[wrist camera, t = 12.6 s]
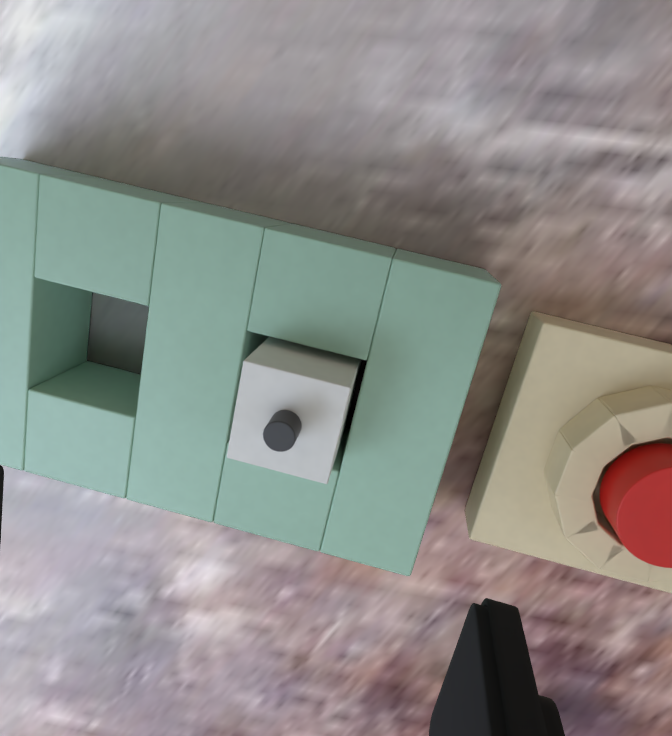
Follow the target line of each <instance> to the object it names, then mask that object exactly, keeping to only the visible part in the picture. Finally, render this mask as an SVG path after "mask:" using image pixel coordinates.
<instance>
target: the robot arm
mask: <svg viewBox="0 0 672 736" xmlns="http://www.w3.org/2000/svg"><path fill="white" fill-rule="evenodd" d="M3 481H4V469H3V467H2V466H1V465H0V542H1V521H2V501H3ZM429 736H565V734H564V730H563V727H562V723H561V719H560V715H559V712H558V709H557V707H556V704H555V703H554V701H553V700H552V699H550V698H547V697H543V696H540V695H538V691H537V687H536V682H535V678H534V674H533V670H532V665H531V661H530V657H529V652H528V648H527V644H526V639H525V635H524V631H523V627H522V622H521V618H520V614H519V611H518V608H517V607H515V606H512V605H508V604H505V603H501V602H498V601H494V600H491V599H488V598H486V599H484V601H483V602H482V604H481V605H479V604H475V603H473V604H472V605H471V607H470V609H469V612H468V615H467V618H466V620H465V623H464V626H463V629H462V632H461V634H460V637H459V640H458V643H457V646H456V648H455V651H454V654H453V657H452V660H451V662H450V665H449V668H448V671H447V674H446V676H445V679H444V682H443V685H442V688H441V691H440V693H439V696H438V699H437V702H436V705H435V707H434V710H433V713H432V717H431V722H430V729H429Z"/></svg>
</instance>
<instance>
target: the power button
mask: <svg viewBox="0 0 672 736" xmlns="http://www.w3.org/2000/svg"><path fill="white" fill-rule="evenodd" d="M599 498H600V504H601V507H602V510H603V512H604V514H605V516H606V517H607V519H608V521H609V522H610V524H611V526H612V527H613V529H614V530H615V532H616V534H617V535H618V537H619V539H620V540H621V542H622V543H623V545H624V546H625V547H626V549H627V550H628V551H629V552H630V553H631V554H633V555H634V556H635V557H637V558H638V559H640V560H642V561H644V562H646V563H648V564H651V565H654V566H659V567H664V568H672V444H665V443H655V444H648V445H643V446H640V447H637V448H634V449H632V450H630V451H628V452H626V453H624V454H623V455H622V456H620V457H619V458H618V459H617V460H615V461H614V462H613V463H612V465H611V466H610V467H609V468H608V470H607V471H606V473H605V475H604V477H603V479H602V482H601V485H600V493H599Z"/></svg>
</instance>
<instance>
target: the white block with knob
mask: <svg viewBox="0 0 672 736" xmlns="http://www.w3.org/2000/svg"><path fill="white" fill-rule="evenodd" d="M361 363H362V359H358V358H354V357H350V356H346V355H342V354H338V353H334V352H330V351H326V350H322V349H318V348H314V347H310V346H306V345H302V344H298V343H294V342H290V341H286V340H282V339H278V338H274V337H269V338H267V339H266V340H265V341H264V342H263V343H262V344H261V345H260V346H259V347H258V348H257V349H256V350H255V351H254V352H252V353H251V354H250V355H249V356H248V357H247V358H246V359H245V360H244V361H243V366H242V372H241V377H240V383H239V389H238V394H237V400H236V406H235V411H234V417H233V423H232V428H231V434H230V440H229V445H228V451H227V458H230V459H233V460H237V461H241V462H245V463H248V464H252V465H256V466H260V467H263V468H267V469H271V470H275V471H279V472H282V473H286V474H290V475H294V476H297V477H301V478H305V479H309V480H312V481H316V482H320V483H324V484H328V481H329V478H330V475H331V472H332V468H333V465H334V462H335V458H336V455H337V452H338V449H339V445H340V442H341V439H342V435H343V432H344V429H345V425H346V422H347V419H348V415H349V411H350V407H351V403H352V399H353V395H354V391H355V387H356V383H357V379H358V375H359V371H360V367H361Z"/></svg>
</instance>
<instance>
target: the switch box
mask: <svg viewBox="0 0 672 736" xmlns="http://www.w3.org/2000/svg"><path fill="white" fill-rule="evenodd" d="M655 443H665V444H672V344H667V343H663V342H659V341H655V340H651V339H647V338H642V337H638V336H634V335H630V334H626V333H622V332H618V331H613V330H609V329H605V328H601V327H597V326H593V325H589V324H584V323H580V322H576V321H572V320H568V319H564V318H559V317H555V316H551V315H547V314H543V313H539V312H535V311H533V312H531V313H530V316H529V319H528V322H527V325H526V328H525V331H524V334H523V337H522V340H521V343H520V346H519V349H518V352H517V355H516V358H515V361H514V364H513V367H512V370H511V373H510V376H509V379H508V382H507V385H506V388H505V391H504V394H503V397H502V400H501V403H500V406H499V409H498V412H497V415H496V418H495V421H494V424H493V427H492V430H491V433H490V436H489V439H488V442H487V445H486V448H485V451H484V454H483V457H482V460H481V463H480V466H479V469H478V472H477V475H476V478H475V481H474V484H473V486H472V489H471V492H470V495H469V498H468V501H467V504H466V507H465V516H466V522H467V528H468V534H469V538H470V539H471V540H474V541H478V542H482V543H486V544H489V545H493V546H497V547H501V548H504V549H508V550H512V551H516V552H519V553H523V554H527V555H530V556H534V557H538V558H542V559H545V560H549V561H553V562H557V563H560V564H564V565H568V566H571V567H575V568H579V569H583V570H586V571H590V572H594V573H598V574H601V575H605V576H609V577H612V578H616V579H620V580H624V581H627V582H631V583H635V584H639V585H642V586H646V587H650V588H654V589H657V590H661V591H665V592H668V593H672V568H664V567H659V566H654V565H651V564H648V563H646V562H644V561H642V560H640V559H638V558H637V557H635V556H634V555H633V554H631V553H630V552H629V551H628V550H627V549H626V547H625V546H624V545H623V543H622V542H621V540H620V539H619V537H618V535H617V534H616V532H615V530H614V529H613V527H612V526H611V524H610V522H609V521H608V519H607V517H606V516H605V514H604V512H603V510H602V507H601V504H600V498H599V493H600V485H601V482H602V479H603V477H604V475H605V473H606V471H607V470H608V468H609V467H610V466H611V465H612V463H613V462H614V461H615V460H617V459H618V458H619V457H620V456H622V455H623V454H624V453H626V452H628V451H630V450H632V449H634V448H637V447H640V446H643V445H648V444H655Z"/></svg>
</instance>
